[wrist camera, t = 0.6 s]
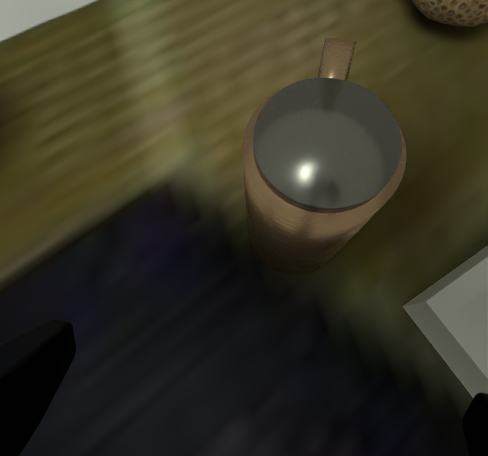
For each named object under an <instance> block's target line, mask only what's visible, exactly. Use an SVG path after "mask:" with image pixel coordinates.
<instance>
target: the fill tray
mask: <svg viewBox="0 0 488 456" xmlns="http://www.w3.org/2000/svg"><path fill="white" fill-rule="evenodd" d="M402 307H403V308H404V309H405V311H406V312H407V313H408V315H409V316H410V317H411V318H412V320H413V321H414V322H415V324H416V325H417V326H418V328H419V329H420V330H421V331H422V333H423V334H424V335H425V337H426V338H427V339H428V340H429V342H430V343H431V344H432V346H433V347H434V348H435V349H436V351H437V352H438V353H439V355H440V356H441V357H442V359H443V360H444V361H445V362H446V364H447V365H448V366H449V368H450V369H451V370H452V371H453V373H454V374H455V375H456V377H457V378H458V379H459V381H460V382H461V383H462V384H463V386H464V387H465V388H466V390H467V391H468V392H469V393H470V395H471V396H472V397H473V398H474V396H475V395H476V394H478V393H481V392H482V393H488V245H487V246H486V247H485V248H483V249H482V250H480V251H479V252H478V253H476V254H475V255H473V256H472V257H471V258H469V259H468V260H466V261H465V262H464V263H462V264H461V265H459V266H458V267H457V268H455V269H454V270H452V271H451V272H450V273H448V274H447V275H445V276H444V277H443V278H441V279H440V280H438V281H437V282H436V283H434V284H433V285H431V286H430V287H429V288H427V289H426V290H424V291H423V292H422V293H420V294H419V295H417V296H416V297H415V298H413V299H412V300H410V301H409V302H408V303H406V304H405V305H403V306H402Z"/></svg>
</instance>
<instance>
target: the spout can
mask: <svg viewBox="0 0 488 456" xmlns="http://www.w3.org/2000/svg"><path fill="white" fill-rule="evenodd" d="M355 44H356V42H354V41H348V40H340V39H331V38H325V42H324V47H323V52H322V58H321V63H320V68H319V73H318V78H313V79H307V80H303V81H299V82H296V83H293V84H291V85H289V86H287V87H285V88H283V89H281V90H279V91H277V92H275V93H274V94H272V95H271V96H269V97H268V98H267V99H266V100H265V101H264V102H262V103H261V104H260V106H259V107H258V108H257V109H256V110H255V112H254V113H253V115H252V116H251V118H250V120H249V122H248V124H247V126H246V130H245V133H244V138H243V167H244V181H245V195H246V209H247V223H248V234H249V239H250V243H251V245H252V247H253V249H254V251H255V253H256V254H257V255H258V257H259V258H260V259H261V260H262V261H263V262H264V263H265V264H267V265H268V266H269V267H271V268H273V269H275V270H277V271H280V272H283V273H287V274H306V273H310V272H313V271H315V270H318V269H319V268H321V267H323V266H324V265H325V264H327V263H328V262H329V261H330V260H331V259H332V258H333V257H334V256H335V255H336V254H337V253H338V252H339V250H340V249H341V248H342V247H343V246H344V245H345V244H346V243H347V242H348V241H349V240H350V239H351V238H352V237H353V236H354V235H355V234H356V233H357V232H358V231H359V230H360V229H361V228H362V227H363V226H364V225H365V224H366V223H367V222H368V221H369V220H370V218H371V217H372V216H373V215H374V214H375V213H376V212H377V211H378V210H379V209H380V208H381V207H382V206H383V205H384V204H385V203H386V202H387V201H388V200H389V199H390V198H391V197H392V195H393V194H394V192H395V191H396V190H397V188H398V186H399V184H400V182H401V180H402V178H403V174H404V171H405V166H406V146H405V140H404V137H403V134H402V131H401V129H400V127H399V125H398V123H397V121H396V120H395V118H394V116H393V114H392V113H391V111H390V110H389V108H388V107H387V106H386V105H385V104H384V102H382V101H381V100H380V99H379V98H378V97H377V96H376V95H374V94H373V93H372V92H370V91H369V90H367V89H365V88H363V87H362V86H359V85H357V84H355V83H352V82H348V81H347V78H348V74H349V70H350V65H351V61H352V57H353V53H354V48H355Z"/></svg>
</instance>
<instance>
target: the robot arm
mask: <svg viewBox="0 0 488 456" xmlns="http://www.w3.org/2000/svg"><path fill="white" fill-rule="evenodd" d="M75 352H76V346H75V339H74V332H73V326H72V324H71V323H70V322H68V321H63V320H57V319H53V320H50V321H47V322H45V323H43V324H41V325H39V326H37V327H35V328H33V329H31V330H29V331H27V332H25V333H23V334H21V335H19V336H17V337H15V338H13V339H11V340H9V341H6V342H4V343H2V344H0V456H19V455H20V453H21V452H22V450H23V449H24V447H25V446H26V444H27V442H28V441H29V439H30V438H31V436H32V435H33V433H34V431H35V430H36V428H37V427H38V425H39V423H40V422H41V420H42V418H43V416H44V414H45V412H46V411H47V409H48V407H49V405H50V403H51V401H52V399H53V397H54V395H55V393H56V391H57V389H58V388H59V386H60V384H61V382H62V380H63V378H64V376H65V374H66V372H67V370H68V368H69V366H70V364H71V363H72V361H73V359H74V356H75ZM462 426H463V432H464V436H465V440H466V444H467V447H468V451H469V455H470V456H488V393H482V392H481V393H478V394H476V395H475V396H474V398H473V400H472V402H471V404H470V406H469V407H468V409H467V411H466V413H465V415H464V417H463V421H462Z"/></svg>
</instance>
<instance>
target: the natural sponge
mask: <svg viewBox="0 0 488 456" xmlns="http://www.w3.org/2000/svg"><path fill="white" fill-rule="evenodd" d="M411 1H412V2H413V4H414V5H415V6H416V7H417V8H418V10H419V11H420V12H421V13H422V14H423V15H425V16H426V17H427V18H428V19H431V20H433V21H436V22H439V23H442V24H447V25H452V26H459V27H473V26H478V25H482V24H485V23H487V22H488V0H411Z"/></svg>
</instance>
